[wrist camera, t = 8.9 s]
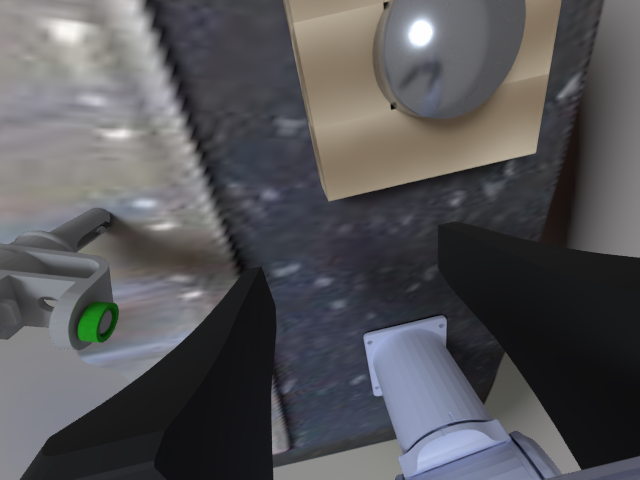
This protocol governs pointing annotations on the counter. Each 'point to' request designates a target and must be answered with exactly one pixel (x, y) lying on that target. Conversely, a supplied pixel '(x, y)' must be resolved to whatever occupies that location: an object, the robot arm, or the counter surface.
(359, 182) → the block
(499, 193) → the counter surface
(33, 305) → the mechanical component
